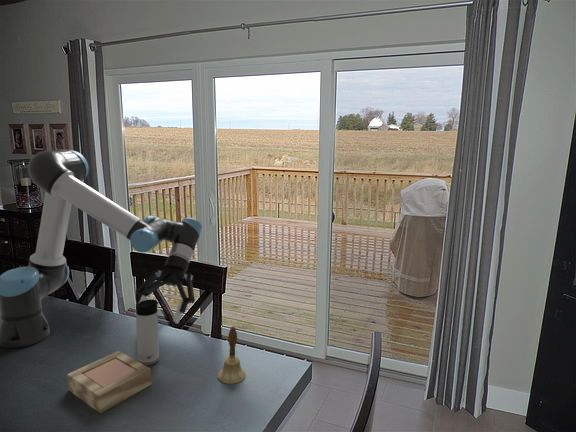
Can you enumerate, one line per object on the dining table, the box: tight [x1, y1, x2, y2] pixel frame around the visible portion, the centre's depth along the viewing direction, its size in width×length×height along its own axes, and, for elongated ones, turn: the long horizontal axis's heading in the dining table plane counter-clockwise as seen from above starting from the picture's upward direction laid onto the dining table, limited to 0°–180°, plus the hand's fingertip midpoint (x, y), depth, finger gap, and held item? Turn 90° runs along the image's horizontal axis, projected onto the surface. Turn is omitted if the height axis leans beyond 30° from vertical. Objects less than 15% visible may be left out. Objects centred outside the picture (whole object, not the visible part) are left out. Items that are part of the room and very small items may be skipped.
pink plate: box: [83, 359, 136, 387], centre depth 113 cm, size 10×10×2 cm
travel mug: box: [135, 299, 160, 367], centre depth 126 cm, size 6×7×20 cm
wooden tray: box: [67, 350, 152, 415], centre depth 113 cm, size 16×16×5 cm
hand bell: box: [217, 326, 246, 385], centre depth 120 cm, size 8×8×16 cm
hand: (156, 319), depth 127 cm, fingers open, 13 cm apart
